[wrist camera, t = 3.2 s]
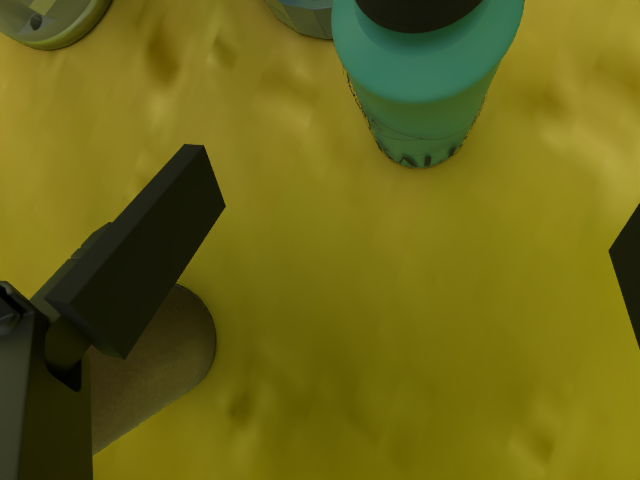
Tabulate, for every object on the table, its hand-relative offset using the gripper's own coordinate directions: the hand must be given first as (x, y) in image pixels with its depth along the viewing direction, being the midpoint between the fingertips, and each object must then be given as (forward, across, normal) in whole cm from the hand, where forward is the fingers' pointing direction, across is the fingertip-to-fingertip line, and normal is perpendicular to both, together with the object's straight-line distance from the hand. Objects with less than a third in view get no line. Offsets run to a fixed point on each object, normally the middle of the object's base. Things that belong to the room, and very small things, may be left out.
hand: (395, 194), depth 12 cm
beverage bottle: (+16, 0, -7) cm, 18 cm away
